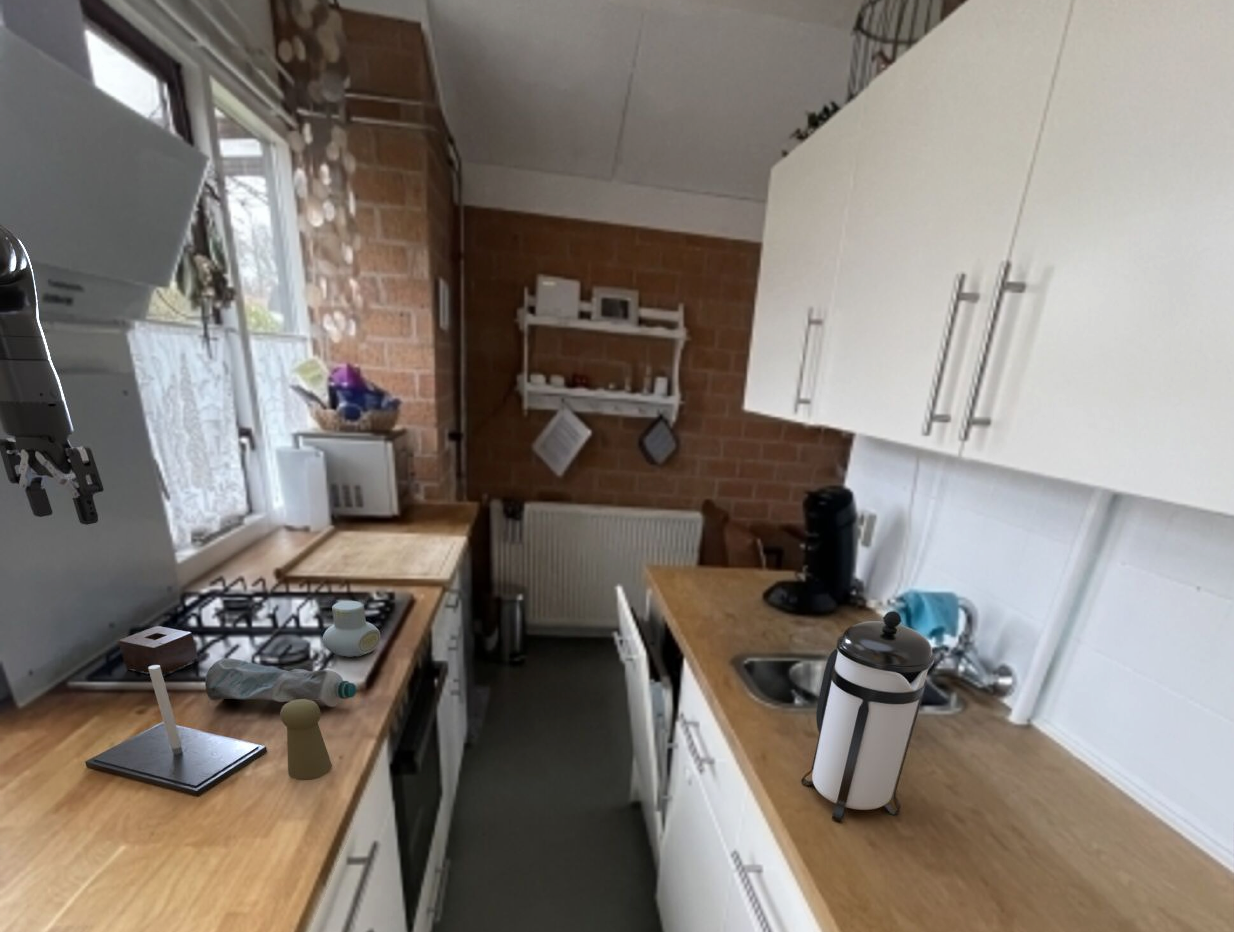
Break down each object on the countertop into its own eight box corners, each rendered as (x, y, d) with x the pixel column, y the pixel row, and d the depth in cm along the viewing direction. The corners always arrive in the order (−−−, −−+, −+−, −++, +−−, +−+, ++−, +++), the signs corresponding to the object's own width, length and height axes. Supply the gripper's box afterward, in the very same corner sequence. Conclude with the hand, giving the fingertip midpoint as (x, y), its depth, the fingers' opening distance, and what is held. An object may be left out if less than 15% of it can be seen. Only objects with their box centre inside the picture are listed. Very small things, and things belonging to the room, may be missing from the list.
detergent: (194, 709, 118) (333, 726, 115) (186, 669, 115) (328, 685, 112) (245, 683, 130) (372, 697, 127) (239, 646, 127) (368, 659, 124)
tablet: (86, 767, 102) (83, 760, 101) (164, 726, 113) (162, 720, 112) (198, 796, 97) (196, 789, 96) (267, 751, 108) (266, 745, 108)
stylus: (170, 753, 104) (145, 667, 97) (178, 749, 105) (154, 664, 99) (177, 755, 104) (153, 669, 97) (185, 750, 105) (162, 665, 98)
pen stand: (126, 670, 130) (117, 640, 127) (165, 654, 137) (157, 625, 134) (162, 678, 128) (153, 647, 125) (199, 661, 135) (192, 632, 132)
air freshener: (354, 639, 149) (348, 594, 144) (387, 646, 147) (382, 600, 142) (318, 657, 140) (310, 610, 135) (353, 665, 137) (346, 617, 133)
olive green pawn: (340, 766, 106) (330, 701, 101) (305, 784, 101) (293, 717, 96) (314, 753, 108) (303, 690, 103) (279, 770, 104) (265, 705, 99)
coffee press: (913, 790, 110) (966, 609, 96) (882, 841, 98) (938, 641, 84) (808, 753, 118) (844, 581, 104) (769, 795, 106) (803, 607, 92)
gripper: (-43, 393, 91) (1, 518, 99) (40, 402, 88) (79, 531, 95) (17, 391, 98) (54, 508, 105) (97, 399, 94) (129, 520, 102)
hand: (66, 519), depth 100 cm, fingers open, 8 cm apart
